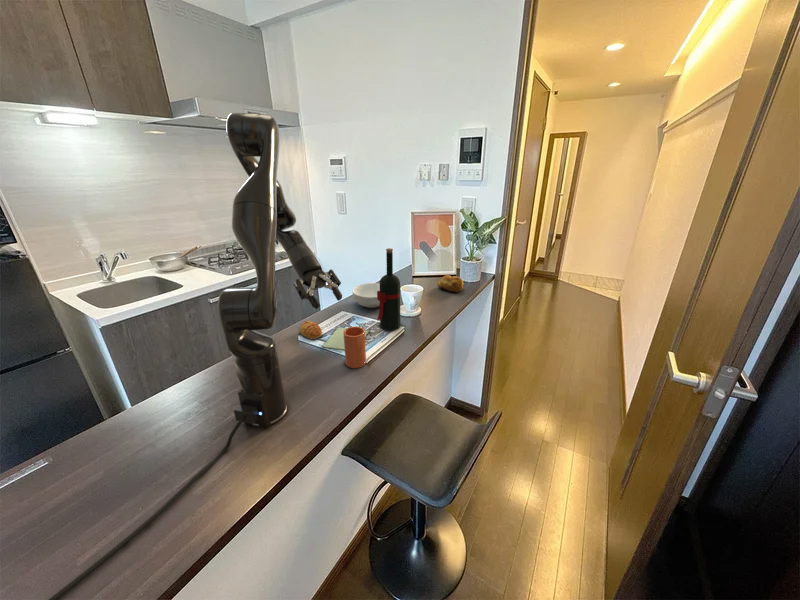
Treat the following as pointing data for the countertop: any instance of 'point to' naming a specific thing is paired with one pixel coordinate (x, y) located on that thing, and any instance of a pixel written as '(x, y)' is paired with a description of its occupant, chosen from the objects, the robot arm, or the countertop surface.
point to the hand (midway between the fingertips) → (329, 303)
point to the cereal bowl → (367, 295)
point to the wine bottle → (389, 297)
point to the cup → (355, 347)
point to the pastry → (310, 330)
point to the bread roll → (451, 283)
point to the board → (338, 339)
